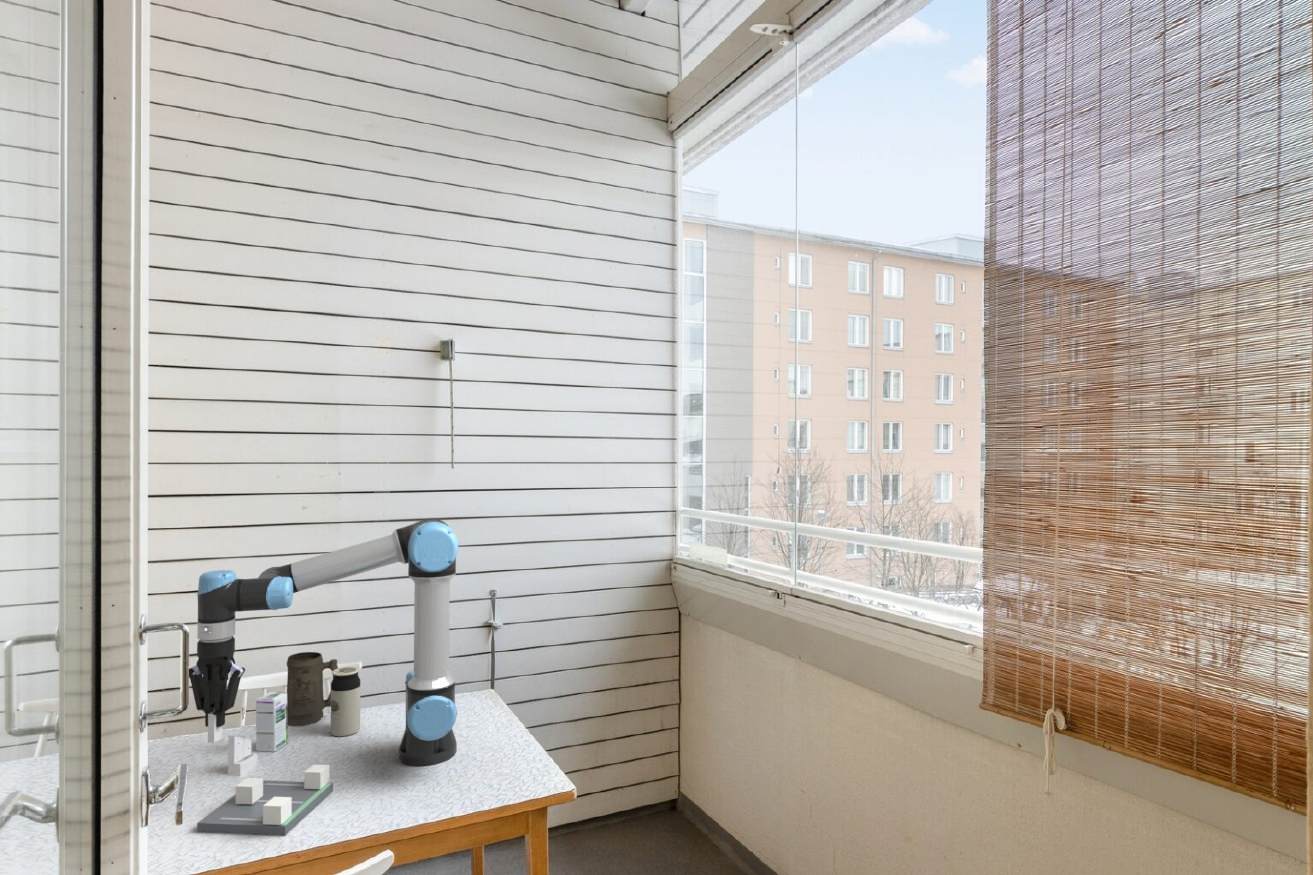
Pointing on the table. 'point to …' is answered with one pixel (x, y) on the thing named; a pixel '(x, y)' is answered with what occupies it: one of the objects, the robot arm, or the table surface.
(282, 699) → the syrup box
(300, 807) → the grey striped board
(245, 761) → the white wedge bracket
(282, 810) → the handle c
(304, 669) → the beer stein
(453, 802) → the table surface
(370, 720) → the table surface
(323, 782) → the white cubic piece
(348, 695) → the travel mug
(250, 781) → the white cubic block
